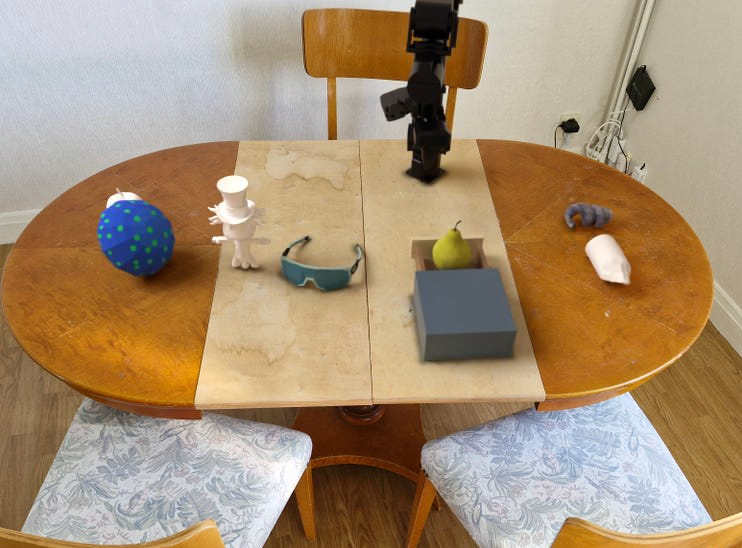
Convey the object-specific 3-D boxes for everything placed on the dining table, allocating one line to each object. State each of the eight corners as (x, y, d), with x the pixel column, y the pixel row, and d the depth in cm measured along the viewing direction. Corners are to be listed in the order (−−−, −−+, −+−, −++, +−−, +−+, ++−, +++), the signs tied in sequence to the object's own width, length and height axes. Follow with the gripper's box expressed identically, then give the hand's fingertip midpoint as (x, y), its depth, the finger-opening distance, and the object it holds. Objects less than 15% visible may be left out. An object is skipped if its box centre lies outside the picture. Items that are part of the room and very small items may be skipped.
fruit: (426, 260, 128) (431, 205, 119) (462, 255, 129) (469, 201, 120) (437, 284, 123) (442, 229, 114) (473, 279, 124) (482, 224, 116)
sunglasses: (272, 284, 125) (271, 260, 122) (298, 244, 136) (297, 222, 133) (347, 297, 123) (348, 273, 120) (367, 256, 134) (368, 233, 131)
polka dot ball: (98, 198, 129) (139, 171, 119) (158, 246, 137) (202, 224, 127) (60, 254, 122) (102, 231, 112) (127, 302, 130) (170, 284, 120)
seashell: (561, 232, 140) (608, 231, 141) (571, 224, 135) (620, 224, 136) (559, 206, 140) (607, 206, 141) (569, 198, 135) (618, 197, 136)
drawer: (409, 250, 131) (410, 232, 128) (478, 248, 132) (481, 230, 129) (418, 306, 121) (420, 288, 117) (494, 303, 122) (497, 285, 118)
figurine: (213, 280, 125) (196, 196, 112) (221, 254, 131) (205, 170, 118) (271, 282, 125) (260, 198, 112) (276, 256, 131) (267, 172, 118)
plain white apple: (125, 210, 139) (114, 176, 134) (155, 218, 138) (146, 183, 132) (104, 230, 135) (93, 195, 129) (136, 238, 133) (125, 203, 128)
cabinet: (413, 297, 124) (415, 270, 119) (493, 294, 125) (498, 267, 120) (423, 360, 113) (426, 334, 109) (511, 356, 114) (517, 330, 110)
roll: (603, 299, 124) (611, 275, 120) (581, 258, 132) (588, 234, 128) (635, 297, 125) (644, 273, 121) (611, 255, 133) (619, 232, 129)
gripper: (378, 54, 128) (377, 131, 140) (389, 103, 116) (386, 183, 127) (437, 53, 129) (431, 129, 140) (454, 102, 116) (446, 181, 128)
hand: (423, 155), depth 134 cm, fingers open, 9 cm apart
